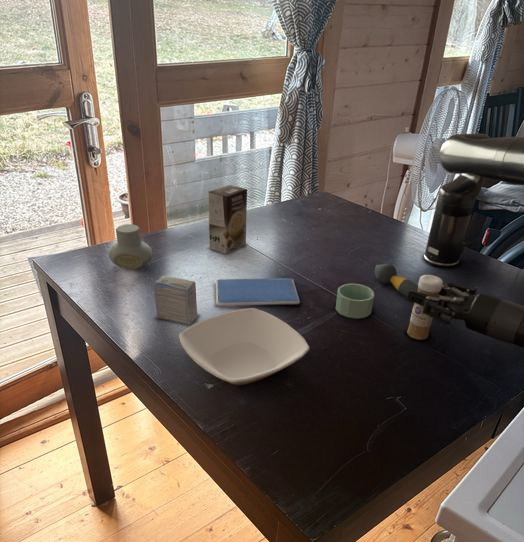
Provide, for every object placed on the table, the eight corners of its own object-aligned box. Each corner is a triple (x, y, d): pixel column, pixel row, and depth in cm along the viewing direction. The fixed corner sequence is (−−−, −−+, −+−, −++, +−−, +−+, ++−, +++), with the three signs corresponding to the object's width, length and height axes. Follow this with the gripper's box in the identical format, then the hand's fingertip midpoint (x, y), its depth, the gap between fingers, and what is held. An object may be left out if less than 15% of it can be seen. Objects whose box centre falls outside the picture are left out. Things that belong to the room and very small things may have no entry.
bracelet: (347, 297, 124) (350, 280, 121) (377, 308, 120) (380, 291, 117) (328, 309, 119) (330, 292, 116) (359, 322, 115) (362, 304, 112)
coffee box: (226, 254, 141) (226, 197, 132) (208, 248, 144) (207, 191, 135) (246, 244, 148) (247, 188, 138) (229, 238, 150) (229, 183, 141)
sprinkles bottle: (403, 335, 111) (416, 279, 103) (412, 326, 114) (426, 271, 106) (422, 343, 108) (437, 286, 101) (432, 334, 111) (447, 278, 104)
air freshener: (155, 258, 138) (152, 222, 132) (150, 272, 131) (147, 235, 125) (114, 257, 137) (109, 221, 132) (107, 271, 131) (101, 234, 125)
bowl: (167, 354, 102) (165, 332, 99) (254, 322, 113) (255, 301, 110) (228, 414, 88) (228, 391, 85) (321, 371, 99) (324, 348, 96)
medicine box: (197, 316, 114) (196, 281, 109) (189, 325, 111) (187, 290, 106) (166, 309, 116) (163, 274, 111) (156, 318, 113) (153, 283, 108)
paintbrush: (440, 304, 123) (445, 285, 120) (427, 310, 120) (431, 291, 117) (377, 273, 135) (380, 256, 132) (364, 278, 132) (367, 260, 130)
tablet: (216, 308, 117) (216, 303, 117) (215, 282, 128) (215, 277, 127) (300, 306, 119) (300, 302, 118) (292, 281, 129) (292, 277, 129)
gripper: (515, 287, 101) (434, 262, 109) (489, 315, 91) (403, 285, 100) (503, 320, 105) (426, 293, 114) (478, 350, 96) (395, 318, 104)
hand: (415, 289), depth 107 cm, fingers open, 5 cm apart
